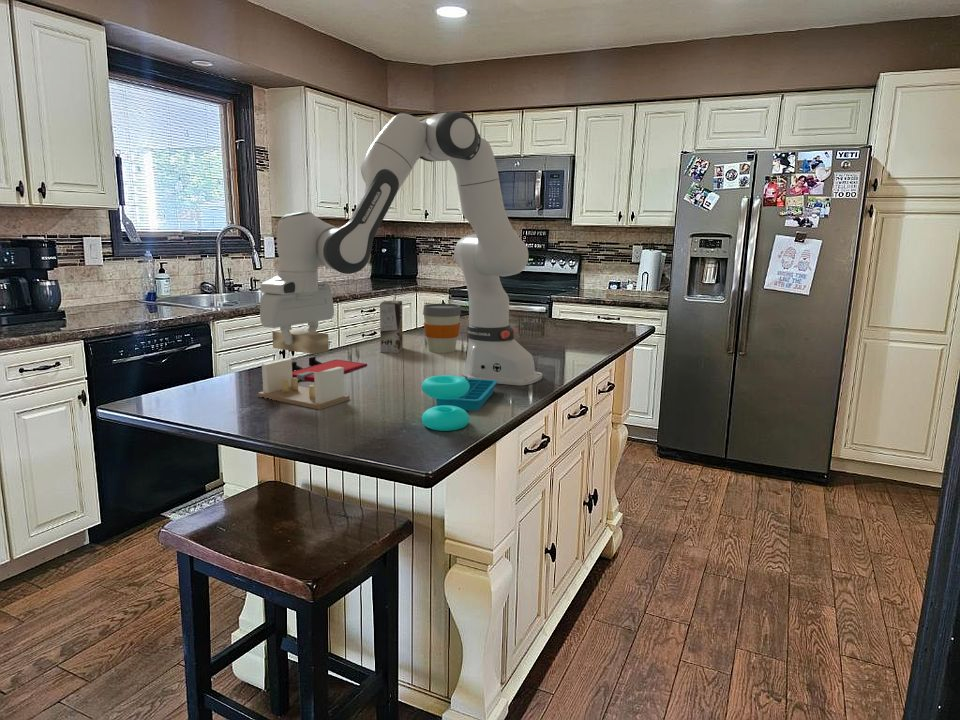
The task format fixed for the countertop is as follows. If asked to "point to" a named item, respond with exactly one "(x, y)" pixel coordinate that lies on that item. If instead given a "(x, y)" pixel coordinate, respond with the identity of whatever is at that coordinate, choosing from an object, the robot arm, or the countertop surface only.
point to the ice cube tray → (472, 395)
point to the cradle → (287, 390)
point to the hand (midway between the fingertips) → (300, 342)
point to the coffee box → (391, 326)
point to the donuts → (445, 414)
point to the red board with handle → (322, 368)
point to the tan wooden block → (302, 341)
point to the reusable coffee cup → (441, 326)
